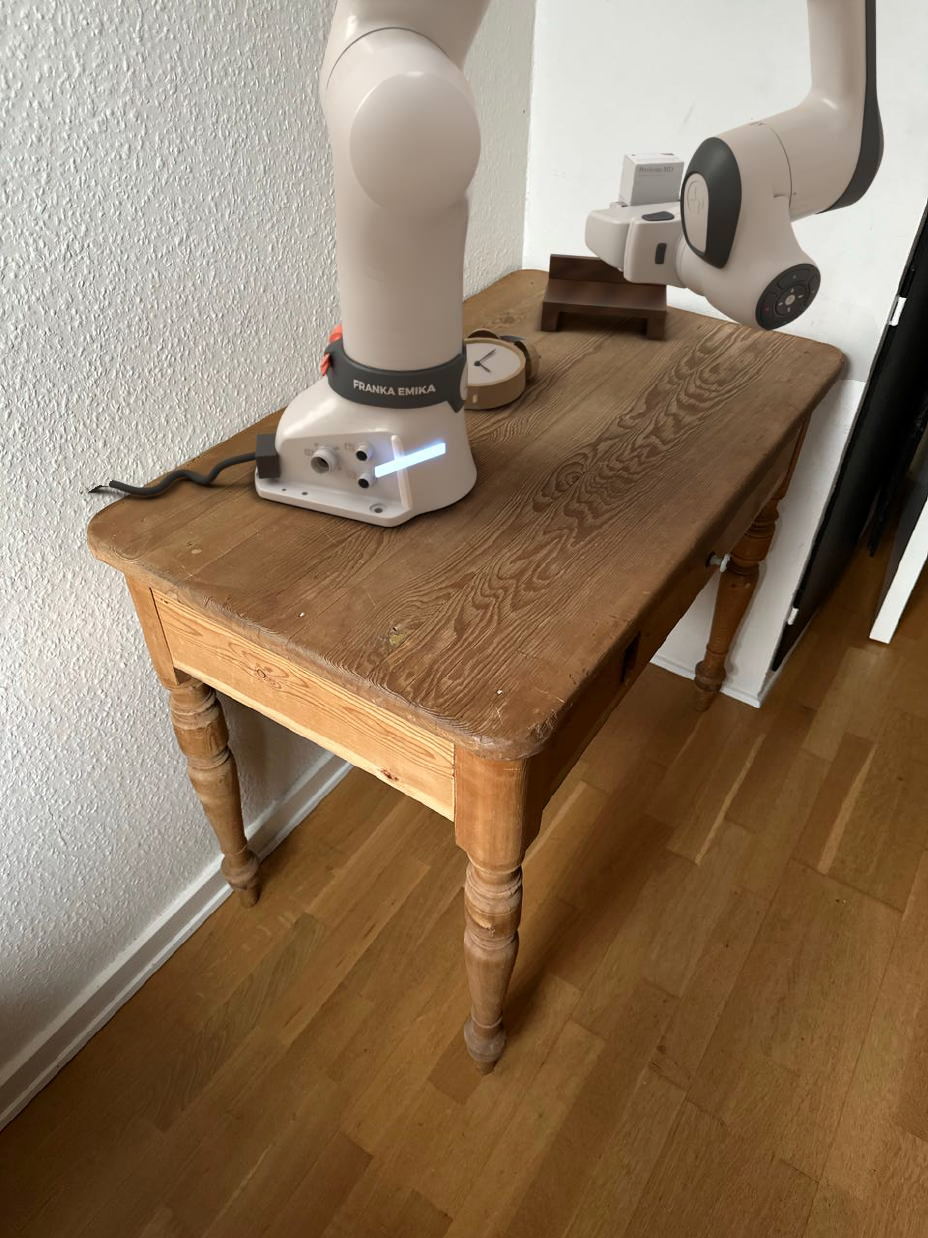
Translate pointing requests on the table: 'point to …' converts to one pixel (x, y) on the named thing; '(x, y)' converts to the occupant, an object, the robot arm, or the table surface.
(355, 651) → the table surface
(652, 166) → the cosmetic box
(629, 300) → the brown wooden bench
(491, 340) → the alarm clock
